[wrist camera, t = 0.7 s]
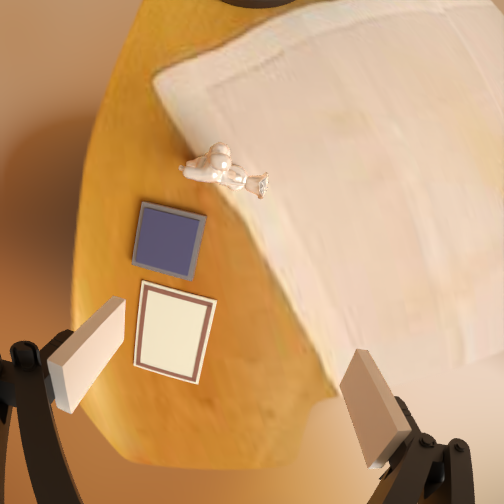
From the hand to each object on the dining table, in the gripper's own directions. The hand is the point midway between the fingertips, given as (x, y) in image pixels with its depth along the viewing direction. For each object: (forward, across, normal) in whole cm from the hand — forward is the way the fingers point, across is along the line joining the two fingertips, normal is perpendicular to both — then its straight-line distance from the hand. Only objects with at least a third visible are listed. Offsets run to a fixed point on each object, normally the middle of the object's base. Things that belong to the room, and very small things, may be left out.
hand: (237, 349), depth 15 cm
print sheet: (+21, -8, -14) cm, 26 cm away
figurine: (+21, -5, +9) cm, 24 cm away
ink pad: (+21, -10, -1) cm, 23 cm away
